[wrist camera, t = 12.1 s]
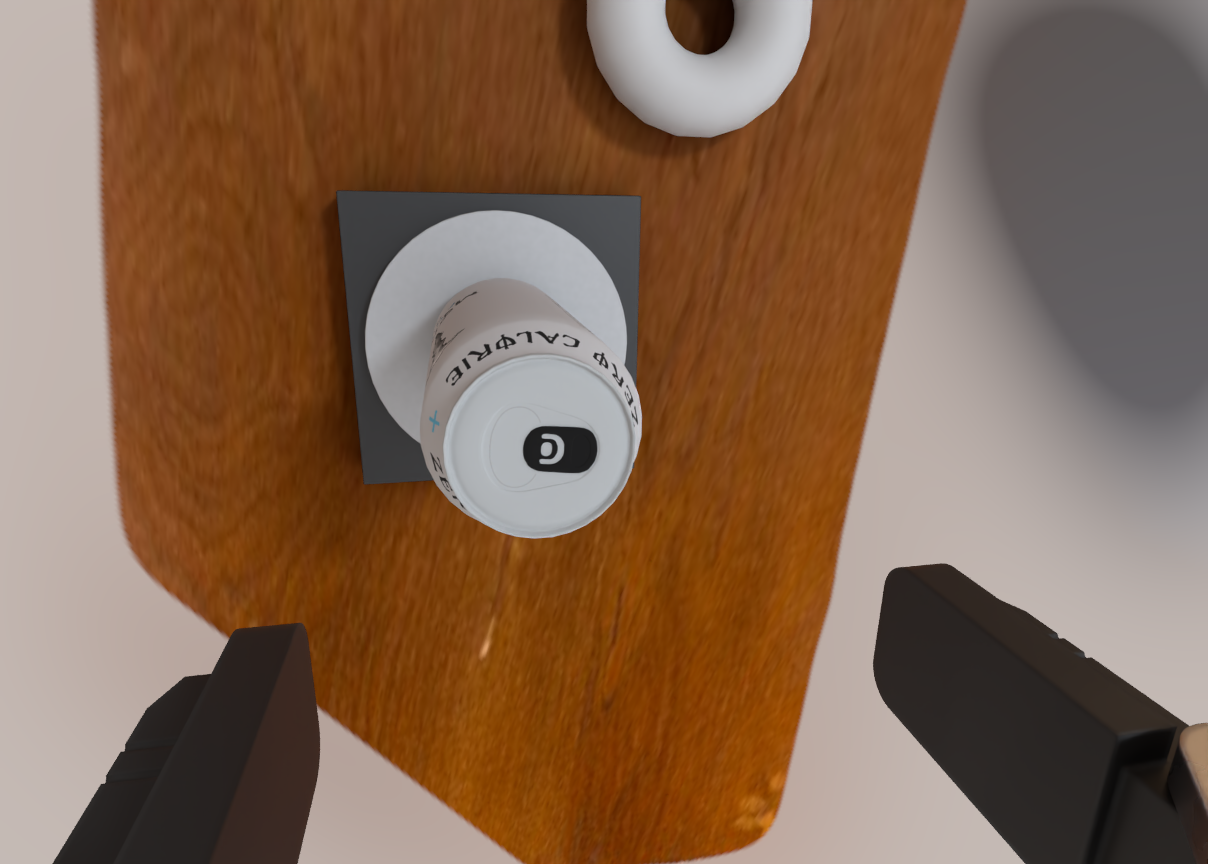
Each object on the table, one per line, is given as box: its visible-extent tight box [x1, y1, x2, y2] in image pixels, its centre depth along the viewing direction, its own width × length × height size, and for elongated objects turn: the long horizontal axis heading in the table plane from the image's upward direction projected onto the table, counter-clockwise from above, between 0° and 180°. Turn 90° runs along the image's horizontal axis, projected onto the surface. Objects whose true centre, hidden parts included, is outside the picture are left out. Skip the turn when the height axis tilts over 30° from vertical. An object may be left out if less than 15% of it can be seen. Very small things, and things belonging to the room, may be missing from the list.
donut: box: [587, 0, 812, 137], centre depth 30 cm, size 10×4×10 cm
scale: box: [336, 191, 641, 484], centre depth 33 cm, size 13×13×3 cm
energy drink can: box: [420, 278, 642, 538], centre depth 25 cm, size 6×6×15 cm
